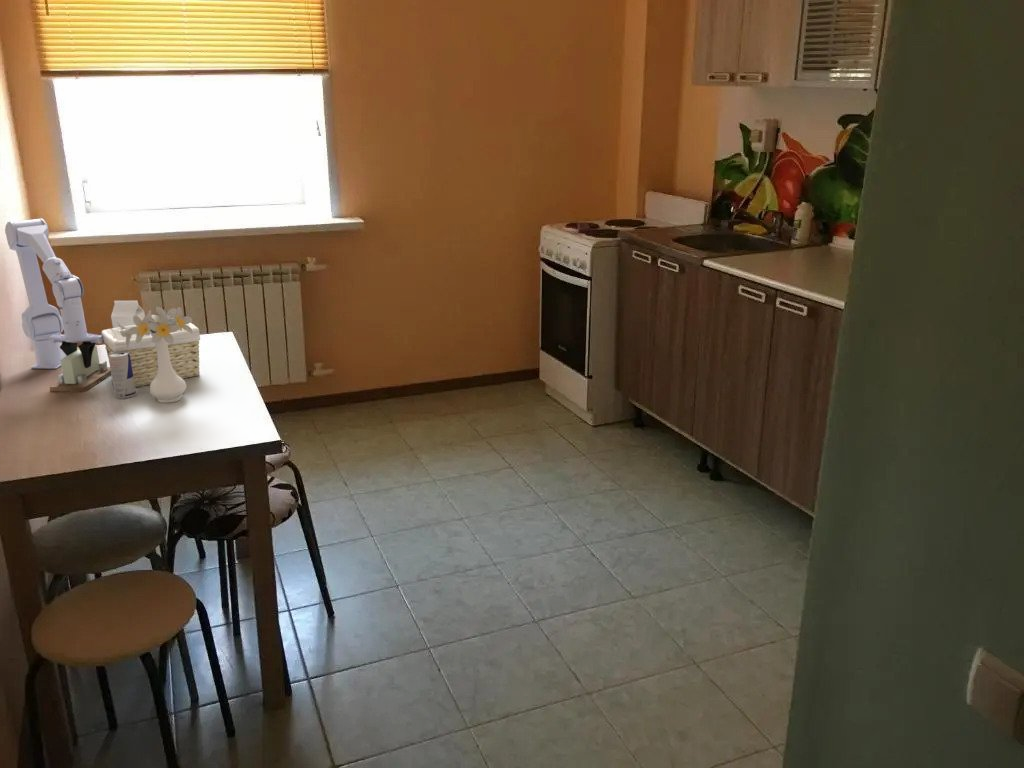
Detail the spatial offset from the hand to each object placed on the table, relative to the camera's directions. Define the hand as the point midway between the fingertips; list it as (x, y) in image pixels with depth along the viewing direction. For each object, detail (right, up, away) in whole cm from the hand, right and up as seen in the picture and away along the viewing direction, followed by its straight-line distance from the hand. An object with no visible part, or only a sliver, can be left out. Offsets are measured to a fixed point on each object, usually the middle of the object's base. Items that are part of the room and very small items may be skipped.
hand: (82, 366), depth 246 cm
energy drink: (+17, -8, -11) cm, 22 cm away
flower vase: (+30, -9, -14) cm, 35 cm away
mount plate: (0, -4, +1) cm, 4 cm away
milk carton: (+7, +2, +19) cm, 20 cm away
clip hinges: (0, -3, +1) cm, 3 cm away
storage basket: (+20, -3, +4) cm, 21 cm away
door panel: (0, -2, +1) cm, 3 cm away
